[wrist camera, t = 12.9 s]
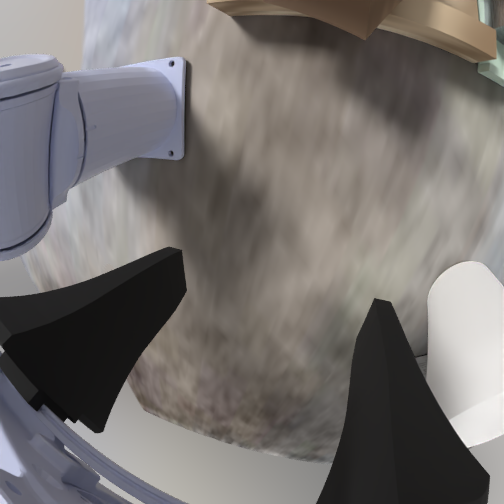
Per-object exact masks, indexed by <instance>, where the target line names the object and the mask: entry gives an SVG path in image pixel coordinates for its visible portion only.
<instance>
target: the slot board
mask: <svg viewBox="0 0 504 504" xmlns="http://www.w3.org/2000/svg"><path fill="white" fill-rule="evenodd" d="M207 4H209V5H211V6H213V7H215V8H216V9H218V10H220V11H222V12H224V13H226V14H227V15H229V16H243V15H288V16H304V17H310V16H308V15H305V14H302V13H299V12H296V11H293V10H290V9H287V8H283V7H280V6H276V5H273V4H269V3H265V2H264V1H263V0H207ZM377 28H378V29H382V30H386V31H390V32H394V33H397V34H401V35H404V36H407V37H410V38H413V39H416V40H419V41H422V42H425V43H428V44H430V45H433V46H435V47H438V48H440V49H443V50H445V51H448V52H450V53H452V54H454V55H457V56H459V57H461V58H463V59H465V60H467V61H469V62H471V63H477V62H483V61H488V60H495V59H497V43H496V30H495V29H493V28H491V27H490V26H488V25H486V24H484V23H483V22H481V21H479V18H478V6H477V0H402V1H401V2H400V3H399V4H398V5H397V6H396V7H395V8H394V9H393V10H392V11H391V13H390V14H389V15H388V16H387V17H386V18H385V19H384V20H383V21H382V22H381V23H380V25H379V26H378V27H377Z"/></svg>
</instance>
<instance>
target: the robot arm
mask: <svg viewBox="0 0 504 504" xmlns="http://www.w3.org/2000/svg"><path fill="white" fill-rule="evenodd" d="M173 61H174V63H175V64H174V66H173V67H172V62H173ZM63 69H64V67H63V65H62V64H61V63H59V62H58V60H57V59H56V58H55V57H54V56H52V55H47V54H25V55H16V56H9V57H4V58H0V261H5V260H9V259H13V258H15V257H18V256H20V255H22V254H24V253H26V252H28V251H29V250H31V249H32V248H33V247H34V246H36V245H37V244H38V243H39V242H40V241H41V240H42V239H43V237H44V236H45V235H46V233H47V232H48V230H49V227H50V225H51V221H52V213H53V212H52V210H53V209H54V208H56V207H58V206H59V205H61V204H63V203H64V202H66V200H67V193H68V191H69V189H70V188H72V187H74V186H76V185H78V184H80V183H82V182H84V181H86V180H88V179H90V178H92V177H94V176H96V175H98V174H100V173H102V172H104V171H107V170H109V169H111V168H113V167H115V166H117V165H120V164H122V163H124V162H127V161H129V160H131V159H134V158H136V157H144V158H157V159H170V160H180V159H182V158H183V157H184V105H185V74H186V60H185V58H183V57H172V58H165V59H158V60H152V61H147V62H141V63H136V64H131V65H127V66H122V67H116V68H100V69H88V70H79V71H71V72H64V73H63ZM171 150H172V151H173V153H174V155H172V154H171ZM186 291H187V288H186V281H185V273H184V265H183V256H182V250H180V249H176V248H172V247H167V248H164V249H161V250H158V251H156V252H154V253H151V254H149V255H147V256H144V257H142V258H140V259H137V260H135V261H133V262H131V263H128V264H126V265H124V266H122V267H119V268H117V269H115V270H112V271H110V272H107V273H105V274H102V275H100V276H98V277H95V278H92V279H90V280H87V281H84V282H81V283H78V284H75V285H72V286H68V287H64V288H60V289H56V290H52V291H48V292H44V293H38V294H32V295H25V296H14V297H0V345H1V346H2V348H3V349H4V350H5V352H4V353H3V354H2V353H1V351H0V504H132V503H131V502H129V501H127V500H125V499H124V498H122V497H121V496H119V495H117V494H115V493H114V492H112V491H111V490H109V489H108V488H106V487H105V486H103V485H101V484H100V483H99V482H98V481H99V480H100V476H99V475H98V474H97V473H96V472H95V471H97V472H98V473H99V474H101V475H102V476H103V477H105V478H106V479H108V480H109V481H110V482H112V483H114V484H115V485H116V486H118V487H119V488H121V489H122V490H124V491H126V492H127V493H128V494H130V495H132V496H133V497H135V498H137V499H138V500H140V501H142V502H143V503H145V504H187V503H185V502H183V501H181V500H179V499H177V498H175V497H173V496H170V495H169V494H167V493H165V492H163V491H161V490H159V489H157V488H155V487H153V486H151V485H150V484H148V483H146V482H144V481H143V480H141V479H139V478H138V477H136V476H134V475H133V474H131V473H129V472H128V471H126V470H125V469H123V468H122V467H120V466H119V465H117V464H116V463H114V462H113V461H111V460H110V459H109V458H107V457H106V456H104V455H103V454H102V453H100V452H99V451H98V450H96V449H95V448H94V447H92V446H91V445H90V444H89V443H87V442H86V441H85V440H83V439H82V438H81V437H80V436H79V435H77V434H76V433H75V432H74V431H73V430H72V429H70V427H68V426H67V425H66V424H65V423H64V421H65V420H66V419H67V418H68V419H70V420H71V421H72V422H73V423H76V421H77V420H80V422H82V423H83V424H84V425H85V426H87V427H88V428H89V429H90V430H92V431H93V432H94V433H101V432H103V431H104V428H105V424H106V422H107V419H108V417H109V414H110V412H111V409H112V407H113V405H114V403H115V400H116V398H117V396H118V394H119V392H120V390H121V388H122V386H123V384H124V382H125V381H126V379H127V377H128V375H129V373H130V372H131V370H132V368H133V367H134V365H135V363H136V362H137V360H138V358H139V357H140V355H141V354H142V352H143V351H144V350H145V348H146V347H147V346H148V344H149V343H150V342H151V341H152V339H153V338H154V337H155V336H156V334H157V333H158V332H159V331H160V329H161V328H162V327H163V326H164V324H165V323H166V322H167V321H168V319H169V318H170V317H171V315H172V314H173V313H174V311H175V310H176V308H177V307H178V305H179V304H180V302H181V300H182V298H183V297H184V295H185V293H186ZM64 445H65V446H67V447H68V448H69V449H70V450H71V451H72V452H73V453H74V454H76V455H77V456H78V457H79V458H80V459H81V460H80V459H79V458H77V457H75V456H74V455H73V454H71V453H69V452H68V451H67V450H65V449H64ZM82 460H83V461H84V462H85V463H84V462H83V461H82ZM87 464H88V465H89V466H88V465H87ZM92 468H93V469H94V470H95V471H94V470H93V469H92ZM489 482H490V475H489V474H488V473H487V472H486V470H485V469H484V468H483V467H482V466H481V464H480V463H479V462H478V461H477V460H476V459H475V457H474V456H473V455H472V454H471V452H470V451H469V449H468V448H467V447H466V445H465V444H464V443H463V441H462V440H461V439H460V437H459V436H458V434H457V433H456V431H455V430H454V428H453V427H452V425H451V423H450V422H449V420H448V419H447V417H446V415H445V414H444V412H443V411H442V409H441V407H440V406H439V404H438V402H437V400H436V398H435V396H434V395H433V393H432V391H431V389H430V387H429V386H428V384H427V382H426V380H425V378H424V376H423V374H422V371H421V369H420V367H419V365H418V363H417V361H416V359H415V357H414V354H413V352H412V350H411V347H410V345H409V343H408V341H407V338H406V336H405V334H404V331H403V329H402V327H401V324H400V322H399V320H398V317H397V315H396V313H395V310H394V308H393V306H392V304H391V302H389V301H385V300H380V299H376V298H374V300H373V303H372V305H371V307H370V310H369V312H368V314H367V317H366V319H365V321H364V323H363V325H362V328H361V330H360V332H359V334H358V336H357V339H356V344H355V349H354V355H353V360H352V367H351V377H350V387H349V396H348V404H347V412H346V418H345V423H344V428H343V432H342V435H341V439H340V442H339V446H338V449H337V452H336V455H335V458H334V461H333V464H332V467H331V470H330V473H329V475H328V478H327V480H326V482H325V485H324V487H323V490H322V492H321V494H320V496H319V498H318V501H317V503H316V504H487V503H488V494H489Z"/></svg>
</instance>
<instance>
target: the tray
mask: <svg viewBox="0 0 504 504" xmlns="http://www.w3.org/2000/svg"><path fill="white" fill-rule="evenodd" d="M477 6H478V18H479V21H481V22H483V23H484V24H485V14H484V0H477ZM496 43H497V59H495V60H488V61H483V62H478V71H477V72H478V73H480V74H482V75H483V76H485V77H487V78H489V79H491V80H492V81H494V82H496V83H498V84H499V85H501V86H503V87H504V45H503V44H502V43H500V42H499V41H497V40H496Z"/></svg>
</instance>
